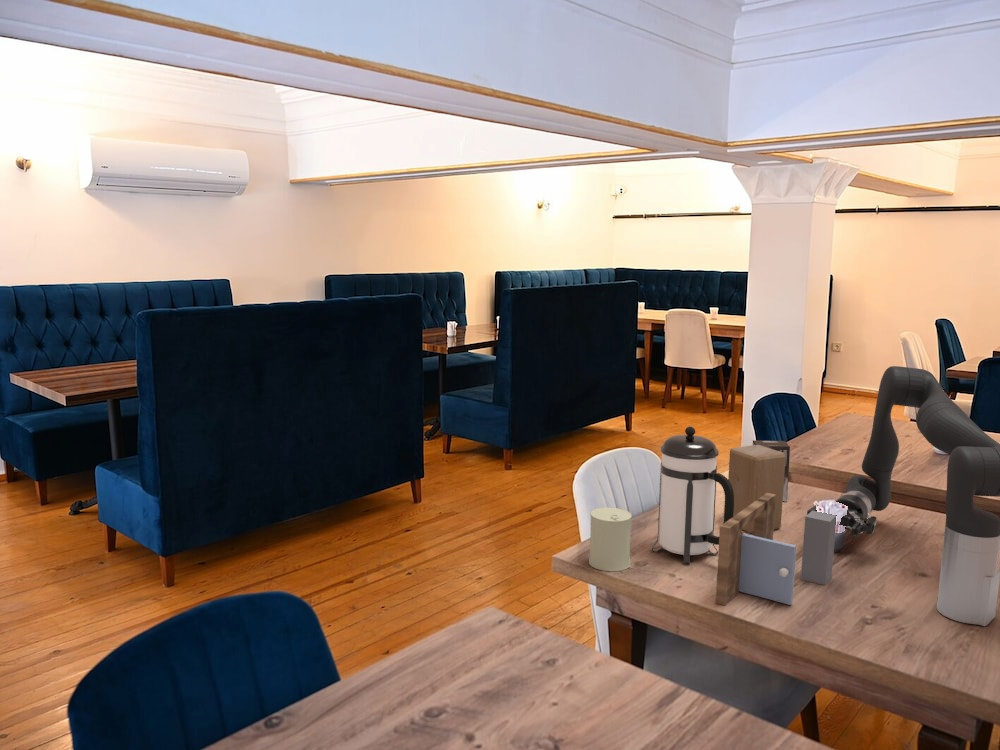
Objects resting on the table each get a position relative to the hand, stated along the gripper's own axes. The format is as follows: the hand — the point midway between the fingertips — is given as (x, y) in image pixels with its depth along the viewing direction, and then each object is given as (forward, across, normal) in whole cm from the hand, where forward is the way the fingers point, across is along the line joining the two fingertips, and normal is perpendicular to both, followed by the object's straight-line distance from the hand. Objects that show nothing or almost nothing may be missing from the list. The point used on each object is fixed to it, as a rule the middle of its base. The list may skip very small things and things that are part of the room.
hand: (832, 528), depth 177 cm
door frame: (+22, -11, +8) cm, 26 cm away
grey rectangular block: (+11, 0, +8) cm, 14 cm away
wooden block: (-12, -22, +8) cm, 27 cm away
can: (+31, -39, +8) cm, 51 cm away
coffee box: (-38, -27, +8) cm, 47 cm away
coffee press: (+15, -27, +8) cm, 32 cm away
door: (+28, -6, +8) cm, 30 cm away
